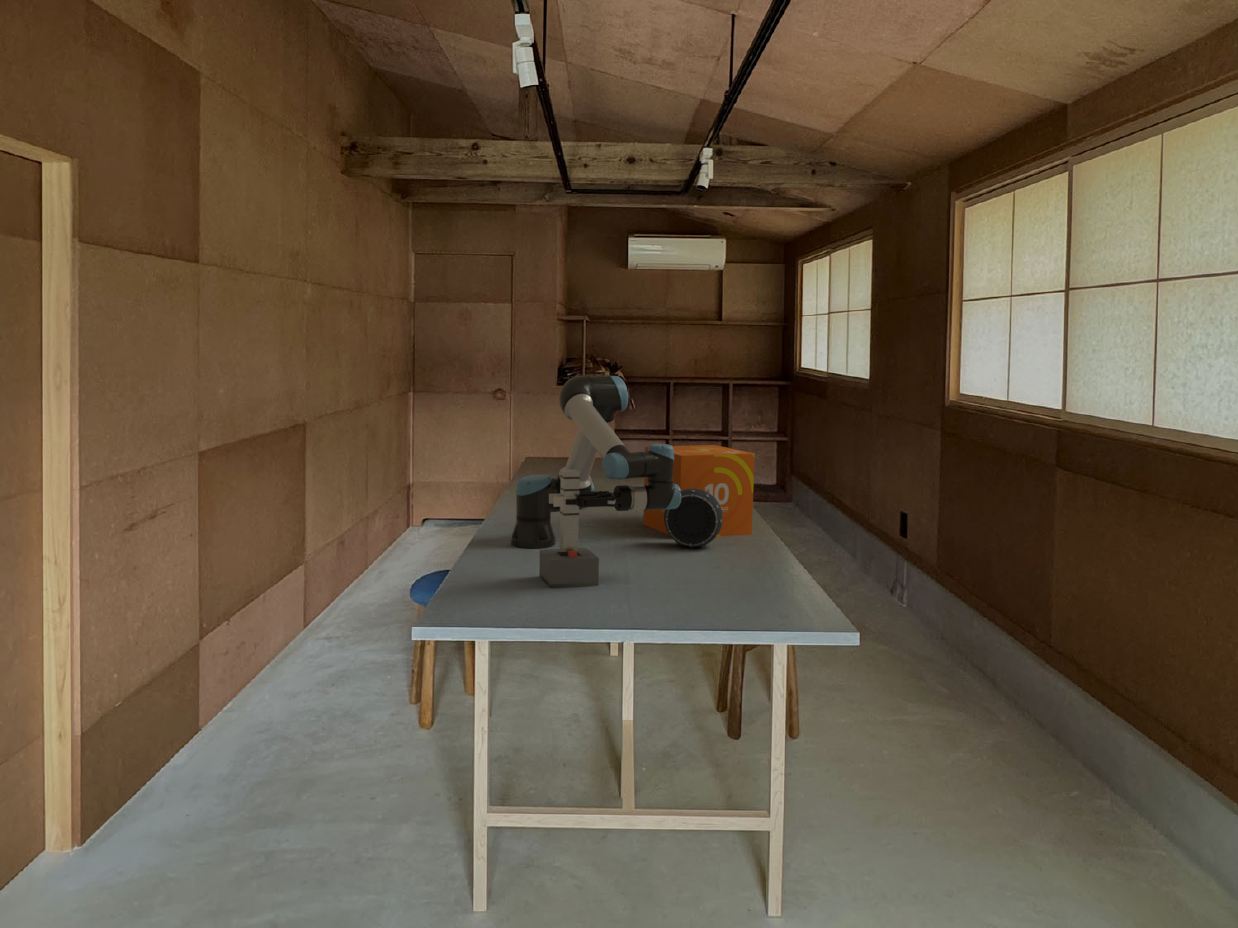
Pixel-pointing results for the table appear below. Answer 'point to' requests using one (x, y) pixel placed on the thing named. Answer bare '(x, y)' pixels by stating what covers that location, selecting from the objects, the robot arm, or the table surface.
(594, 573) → the stand
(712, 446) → the box
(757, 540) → the table surface
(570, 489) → the column
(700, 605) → the table surface
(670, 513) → the studded black puck
